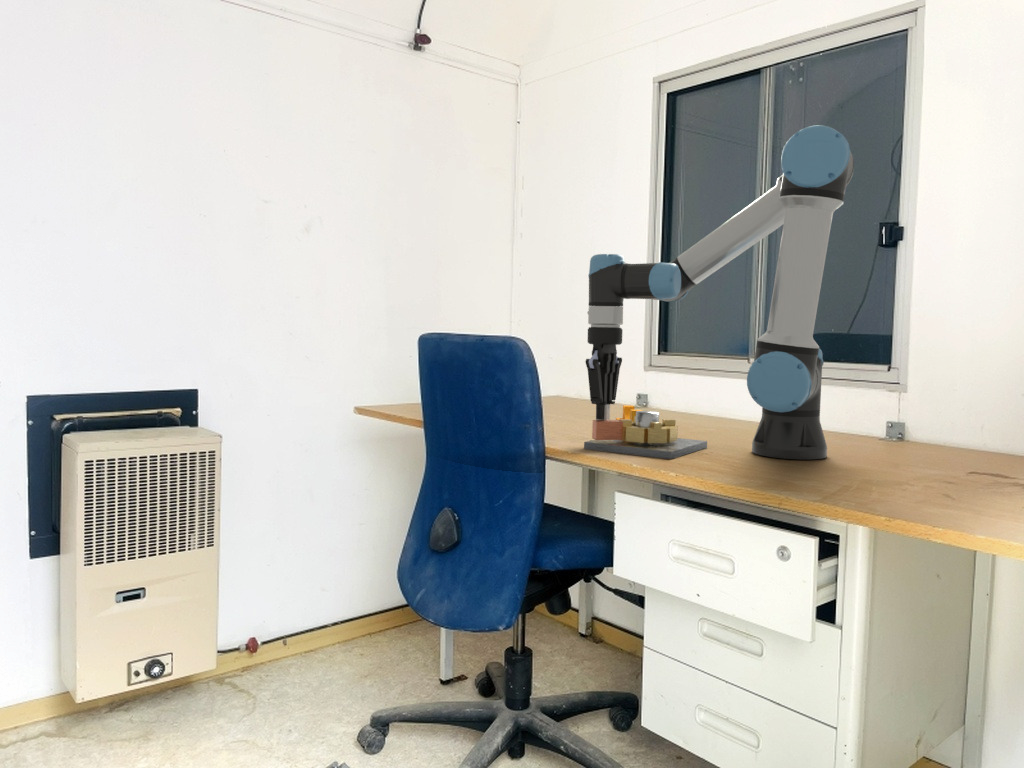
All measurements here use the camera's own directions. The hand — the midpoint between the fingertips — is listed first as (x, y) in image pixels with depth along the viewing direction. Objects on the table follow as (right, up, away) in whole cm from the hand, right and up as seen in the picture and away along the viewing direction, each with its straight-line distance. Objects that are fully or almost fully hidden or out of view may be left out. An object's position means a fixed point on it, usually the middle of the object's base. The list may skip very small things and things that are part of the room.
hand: (602, 433), depth 177 cm
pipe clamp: (+9, -2, +24) cm, 26 cm away
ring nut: (+7, -1, -2) cm, 7 cm away
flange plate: (+9, -3, -1) cm, 10 cm away
